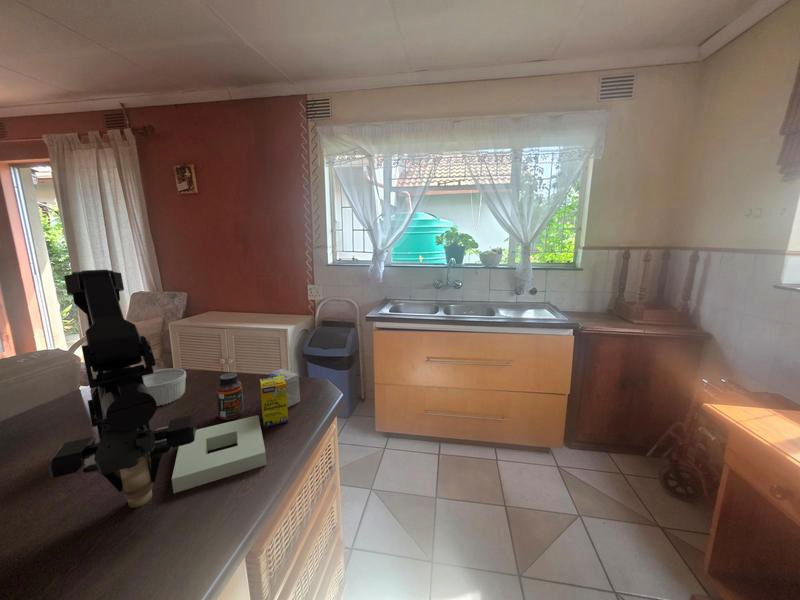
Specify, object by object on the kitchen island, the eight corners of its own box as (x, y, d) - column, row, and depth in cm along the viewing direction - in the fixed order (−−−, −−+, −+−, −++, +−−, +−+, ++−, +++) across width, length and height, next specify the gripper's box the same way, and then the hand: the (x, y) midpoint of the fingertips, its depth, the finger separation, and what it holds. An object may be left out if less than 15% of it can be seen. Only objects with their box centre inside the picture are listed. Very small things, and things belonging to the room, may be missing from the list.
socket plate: (173, 493, 58) (171, 479, 58) (183, 445, 72) (181, 433, 71) (266, 464, 66) (265, 452, 65) (259, 425, 79) (258, 415, 79)
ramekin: (178, 384, 102) (175, 364, 101) (196, 396, 94) (193, 374, 93) (126, 401, 91) (122, 378, 90) (141, 415, 84) (137, 391, 83)
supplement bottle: (225, 424, 80) (221, 382, 78) (214, 416, 84) (210, 376, 82) (248, 414, 85) (244, 375, 83) (237, 407, 88) (233, 369, 86)
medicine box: (300, 401, 92) (299, 374, 90) (287, 408, 88) (286, 379, 86) (283, 394, 96) (281, 368, 94) (270, 400, 92) (268, 373, 91)
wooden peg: (122, 513, 54) (113, 461, 52) (128, 496, 57) (120, 447, 56) (152, 503, 56) (145, 453, 54) (157, 487, 59) (150, 440, 58)
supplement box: (264, 428, 78) (260, 388, 76) (262, 417, 83) (259, 378, 82) (288, 422, 81) (286, 383, 79) (285, 411, 86) (283, 374, 84)
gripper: (18, 449, 42) (41, 547, 45) (186, 413, 51) (196, 497, 54) (56, 410, 51) (73, 493, 54) (191, 386, 60) (200, 458, 63)
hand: (138, 485), depth 56 cm, fingers closed on wooden peg, 4 cm apart
